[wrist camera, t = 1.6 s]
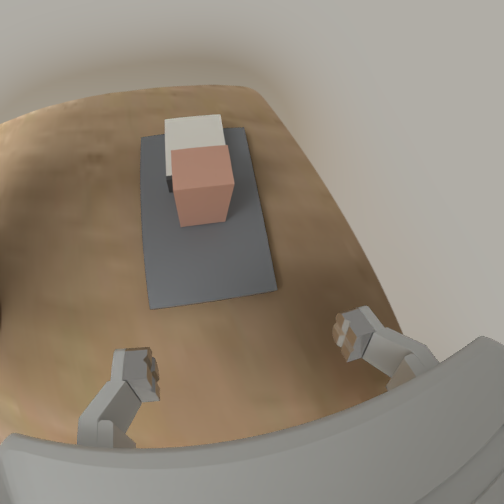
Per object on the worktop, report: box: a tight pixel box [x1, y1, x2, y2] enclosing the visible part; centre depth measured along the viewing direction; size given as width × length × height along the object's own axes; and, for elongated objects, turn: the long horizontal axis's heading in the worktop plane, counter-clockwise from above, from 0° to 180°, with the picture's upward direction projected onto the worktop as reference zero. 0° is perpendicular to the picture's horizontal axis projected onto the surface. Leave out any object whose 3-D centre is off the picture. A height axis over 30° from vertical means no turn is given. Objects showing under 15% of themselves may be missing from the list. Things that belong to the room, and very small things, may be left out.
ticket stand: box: [140, 114, 277, 310], centre depth 30 cm, size 14×22×5 cm, turn 11°
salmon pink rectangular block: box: [171, 145, 235, 227], centre depth 26 cm, size 5×4×9 cm
